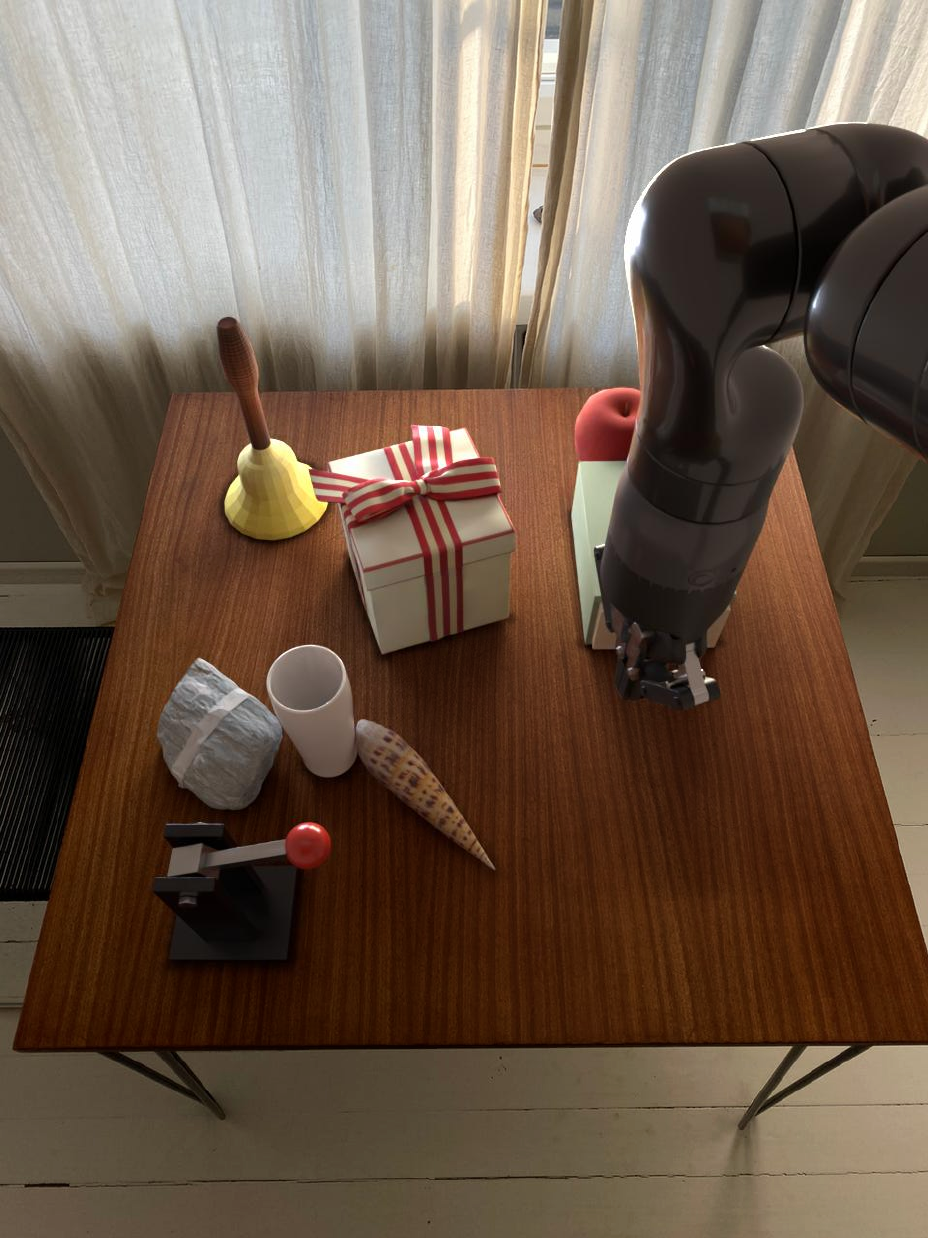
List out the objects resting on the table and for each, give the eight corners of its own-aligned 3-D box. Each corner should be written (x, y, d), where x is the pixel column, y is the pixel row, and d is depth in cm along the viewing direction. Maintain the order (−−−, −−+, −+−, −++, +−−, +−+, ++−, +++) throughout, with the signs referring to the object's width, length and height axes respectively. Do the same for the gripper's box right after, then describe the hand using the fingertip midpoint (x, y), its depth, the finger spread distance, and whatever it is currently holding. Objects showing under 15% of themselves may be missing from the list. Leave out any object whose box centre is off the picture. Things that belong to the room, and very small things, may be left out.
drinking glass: (295, 726, 87) (265, 647, 74) (364, 719, 87) (345, 639, 74) (296, 790, 83) (264, 718, 70) (367, 783, 83) (348, 709, 71)
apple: (672, 500, 102) (693, 427, 93) (585, 517, 101) (597, 444, 91) (640, 435, 108) (657, 360, 99) (557, 450, 107) (566, 375, 97)
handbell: (343, 471, 105) (311, 293, 85) (307, 549, 99) (263, 376, 78) (248, 452, 107) (195, 273, 86) (207, 528, 101) (137, 353, 80)
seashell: (381, 725, 87) (376, 701, 82) (509, 858, 79) (511, 839, 75) (346, 753, 85) (339, 730, 81) (473, 892, 77) (473, 874, 73)
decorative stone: (307, 751, 85) (296, 724, 80) (232, 832, 81) (216, 808, 76) (213, 681, 89) (198, 650, 84) (137, 754, 85) (116, 726, 80)
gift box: (454, 497, 103) (451, 384, 89) (521, 616, 94) (530, 511, 79) (317, 543, 99) (290, 432, 85) (372, 671, 90) (353, 571, 76)
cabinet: (716, 642, 92) (737, 594, 84) (584, 644, 92) (594, 596, 84) (689, 512, 101) (706, 459, 94) (571, 514, 101) (578, 461, 94)
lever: (341, 827, 63) (316, 812, 60) (337, 871, 61) (311, 858, 59) (198, 852, 67) (169, 839, 65) (190, 894, 66) (161, 882, 63)
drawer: (721, 683, 88) (739, 647, 82) (596, 685, 88) (605, 649, 82) (689, 523, 99) (702, 482, 93) (578, 525, 99) (585, 483, 93)
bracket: (299, 869, 79) (264, 804, 65) (289, 963, 74) (249, 913, 61) (188, 869, 79) (131, 804, 66) (172, 963, 74) (107, 912, 61)
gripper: (812, 606, 43) (726, 755, 57) (687, 427, 50) (638, 600, 64) (675, 650, 42) (622, 791, 56) (566, 459, 49) (544, 628, 63)
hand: (631, 688), depth 60 cm, fingers closed
